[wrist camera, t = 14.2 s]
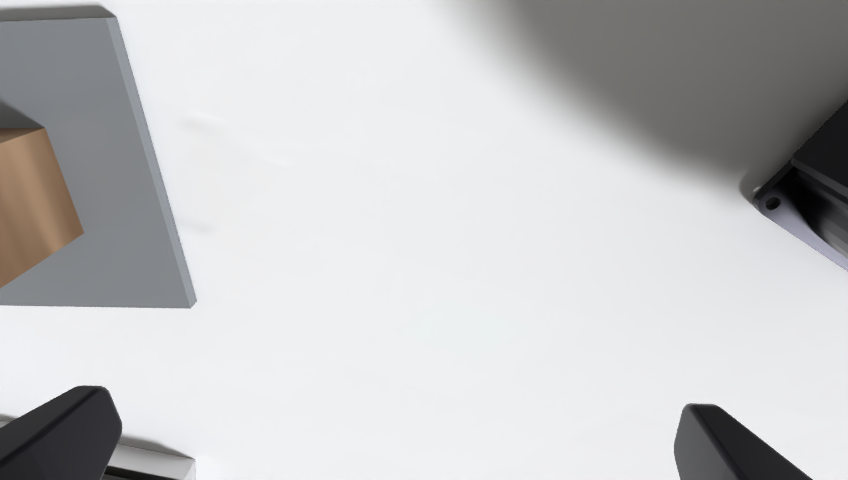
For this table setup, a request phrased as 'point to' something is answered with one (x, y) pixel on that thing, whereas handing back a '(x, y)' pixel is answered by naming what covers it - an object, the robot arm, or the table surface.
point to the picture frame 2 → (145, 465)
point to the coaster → (93, 168)
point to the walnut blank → (32, 202)
